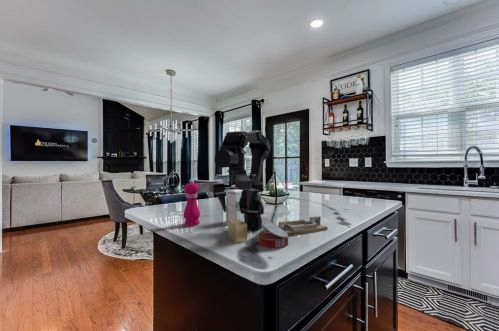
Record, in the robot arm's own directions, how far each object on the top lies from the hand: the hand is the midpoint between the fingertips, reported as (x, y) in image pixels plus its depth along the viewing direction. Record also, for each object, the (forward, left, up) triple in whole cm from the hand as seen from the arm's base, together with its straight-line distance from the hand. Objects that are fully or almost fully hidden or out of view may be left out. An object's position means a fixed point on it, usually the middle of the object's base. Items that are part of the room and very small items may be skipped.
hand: (237, 210), depth 86 cm
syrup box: (-16, +19, -10) cm, 27 cm away
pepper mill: (-29, +5, -10) cm, 31 cm away
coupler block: (0, 0, -10) cm, 10 cm away
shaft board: (+14, +22, -10) cm, 28 cm away
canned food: (+13, +2, -10) cm, 17 cm away
